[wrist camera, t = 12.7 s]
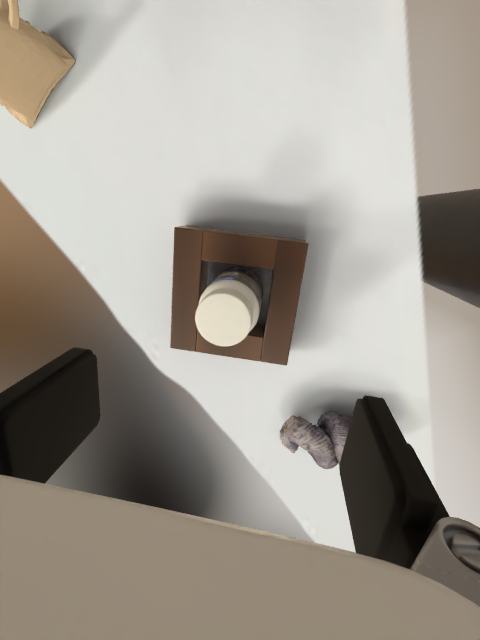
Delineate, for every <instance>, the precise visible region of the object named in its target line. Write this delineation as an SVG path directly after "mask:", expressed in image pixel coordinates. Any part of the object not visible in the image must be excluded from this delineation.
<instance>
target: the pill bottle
mask: <svg viewBox="0 0 480 640" xmlns="http://www.w3.org/2000/svg"><path fill="white" fill-rule="evenodd" d="M262 299H263V287H262V284H261V282H260V280H259V279H258V277H257V276H256V275H255V274H254V273H253V272H251V271H250V270H247V269H245V268H238V267H236V268H230V269H228V270H226V271H224V272H222V273H221V274H220V275H219V276H218V277H217V278H216V279H215V280H214V281H213V282H212V283H211V284H210V285H209V286H208V287H207V288H206V289H205V290H204V292H203V293H202V295H201V297H200V300H199V304H198V307H197V310H196V314H195V322H196V326H197V329H198V331H199V332H200V334H201V335H202V336H203V338H205V339H206V340H207V341H208V342H210V343H212V344H214V345H217V346H232V345H235V344H238V343H239V342H241V341H242V340H243V339H244V338H245V337H246V336H247V335H248V333H249V332H250V331H251V330H252V329H253V328H254V326H255V325H256V323H257V321H258V318H259V313H260V309H261V304H262Z"/></svg>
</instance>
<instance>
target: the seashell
mask: <svg viewBox="0 0 480 640" xmlns="http://www.w3.org/2000/svg"><path fill="white" fill-rule="evenodd" d="M351 419H352V416H347V417H342V416H340V415H339V414H337V413H334V412H328V413H326V414H324V415H322V416H321V417H320V419H319V420H318V422H317V424H318V426H319V427H317V426H315V425H312V423H308V421H307V422H306V421H305V420H303V419H302V418H300V417H296V416H291V417H290V419H288V420H287V421H286V422H285V423H284V424H283V427H282V429H281V431H280V439H281V440H282V444H283V445H284V446H285V447H286V448H288V449H289V450H290V451H291V452H292V453H295V451H296V450H297V448H298V447H299V446H300V447H302V448H303V449H305V450H307V451H308V452H309V454H310V455H311V456H312V457H313V459H314V460H315V462H316V463H317V465H318V466H320V467H322V468H324V469H329V468H333V467H334V466H336V465H337V464H338V463H339V465H340V460H341V456H342V452H343V449H344V445H345V441H346V438H347V434H348V430H349V427H350V423H351Z"/></svg>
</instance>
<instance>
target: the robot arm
mask: <svg viewBox="0 0 480 640" xmlns="http://www.w3.org/2000/svg"><path fill="white" fill-rule="evenodd" d="M99 419H100V405H99V388H98V372H97V358H96V355H94V354H93V352H92V351H91V350H88V349H82V348H76V347H74V348H72V349H70V350H69V351H67V352H65V353H64V354H62V355H61V356H59V357H57V358H56V359H54V360H53V361H51V362H49V363H48V364H46V365H45V366H43V367H42V368H40V369H38V370H37V371H35V372H34V373H32V374H30V375H29V376H27V377H25V378H24V379H23V380H21V381H19V382H17V383H16V384H14V385H13V386H11V387H9V388H8V389H6V390H5V391H3V392H1V393H0V640H480V528H479V527H477V526H475V525H473V524H472V523H470V522H468V521H465V520H462V519H459V518H453V517H450V516H449V515H448V513H447V511H446V509H445V507H444V505H443V503H442V501H441V500H440V498H439V496H438V494H437V492H436V490H435V488H434V487H433V485H432V483H431V481H430V479H429V477H428V475H427V473H426V472H425V470H424V468H423V466H422V464H421V462H420V460H419V459H418V457H417V455H416V453H415V451H414V449H413V448H412V446H411V445H410V444H408V443H407V442H406V440H405V439H404V437H403V435H402V433H401V431H400V429H399V427H398V425H397V423H396V421H395V419H394V417H393V416H392V414H391V412H390V410H389V408H388V406H387V404H386V402H385V400H384V399H383V398H378V397H372V396H366V395H365V396H364V397H363V399H358V400H357V402H356V405H355V409H354V412H353V416H352V419H351V423H350V427H349V430H348V434H347V438H346V441H345V445H344V449H343V452H342V456H341V460H340V476H341V481H342V486H343V491H344V496H345V501H346V506H347V511H348V515H349V520H350V525H351V530H352V535H353V540H354V545H355V550H356V553H354V552H351V551H347V550H343V549H339V548H335V547H330V546H326V545H322V544H317V543H313V542H308V541H305V540H301V539H296V538H292V537H288V536H283V535H279V534H274V533H270V532H265V531H261V530H256V529H252V528H247V527H243V526H238V525H234V524H229V523H225V522H220V521H216V520H211V519H207V518H202V517H198V516H193V515H189V514H184V513H179V512H175V511H170V510H166V509H161V508H156V507H152V506H147V505H143V504H138V503H133V502H128V501H124V500H119V499H115V498H110V497H105V496H101V495H96V494H91V493H86V492H81V491H76V490H72V489H67V488H63V487H58V486H53V485H48V484H45V483H46V481H47V480H48V479H49V478H50V477H51V476H52V475H53V474H54V473H55V471H56V470H57V469H58V468H59V467H60V466H61V465H62V464H63V463H64V462H65V460H66V459H67V458H68V457H69V456H70V455H71V454H72V453H73V451H74V450H75V449H76V448H77V447H78V446H79V445H80V444H81V443H82V441H83V440H84V439H85V438H86V437H87V436H88V435H89V434H90V433H91V431H92V430H93V429H94V428H95V427H96V426H97V424H98V422H99Z"/></svg>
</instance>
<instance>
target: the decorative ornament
mask: <svg viewBox="0 0 480 640" xmlns="http://www.w3.org/2000/svg"><path fill="white" fill-rule="evenodd" d="M8 3H9V5H8ZM74 62H75V60H74V58H73V57H72V56H71V55H70V54H69V53H68V52H67V51H66V50H65V49H64V48H63V47H62V46H61V45H60V44H59V43H58V42H57V41H56V40H55V39H54V38H52V37H50V36H49V35H47V34H46V33H45V32H43V31H42V32H40V31H38V30H37V29H36V28H34V27H33V26H32V25H31V24H30V23H29V22H28V21H24V20H23V19H21V18H19V8H18V0H0V104H2V105H3V106H5V107H6V108H7V109H8V111H9V112H10V113H11V114H12V115H13V116H15V117H16V118H17V119H18V120H19V121H21V122H22V123H23V124H25V125H26V126H28V127H29V128H31V127H32V126H33V124H34V122H35V120H36V117H37V115H38V113H39V112H40V110H41V108H42V106H43V104H44V102H45V101H46V99H47V97H48V96H49V94H50V92H51V91H52V89H53V88H54V86H55V85H56V84H57V83H58V81H59V80H60V79H61V78H62V77H63V76H64V75H65V73H66V72H67V71H68V70H69V69H70V68H71V67H72V66H73V64H74Z"/></svg>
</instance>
